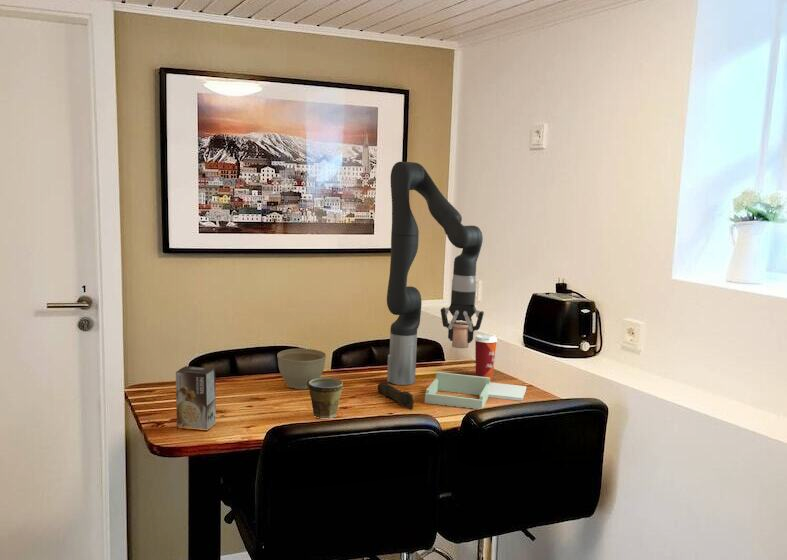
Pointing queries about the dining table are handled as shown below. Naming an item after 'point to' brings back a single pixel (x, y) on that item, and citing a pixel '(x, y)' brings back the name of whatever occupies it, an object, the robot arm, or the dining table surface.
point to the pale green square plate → (506, 391)
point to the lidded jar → (460, 335)
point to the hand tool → (396, 395)
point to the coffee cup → (485, 354)
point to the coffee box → (195, 397)
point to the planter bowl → (300, 366)
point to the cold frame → (458, 390)
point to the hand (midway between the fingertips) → (460, 341)
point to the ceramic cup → (325, 396)
